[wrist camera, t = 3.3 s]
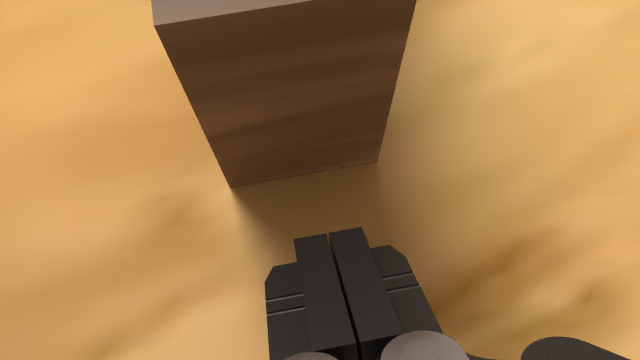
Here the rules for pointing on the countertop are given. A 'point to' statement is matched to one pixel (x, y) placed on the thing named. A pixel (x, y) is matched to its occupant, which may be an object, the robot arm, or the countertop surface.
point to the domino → (287, 79)
